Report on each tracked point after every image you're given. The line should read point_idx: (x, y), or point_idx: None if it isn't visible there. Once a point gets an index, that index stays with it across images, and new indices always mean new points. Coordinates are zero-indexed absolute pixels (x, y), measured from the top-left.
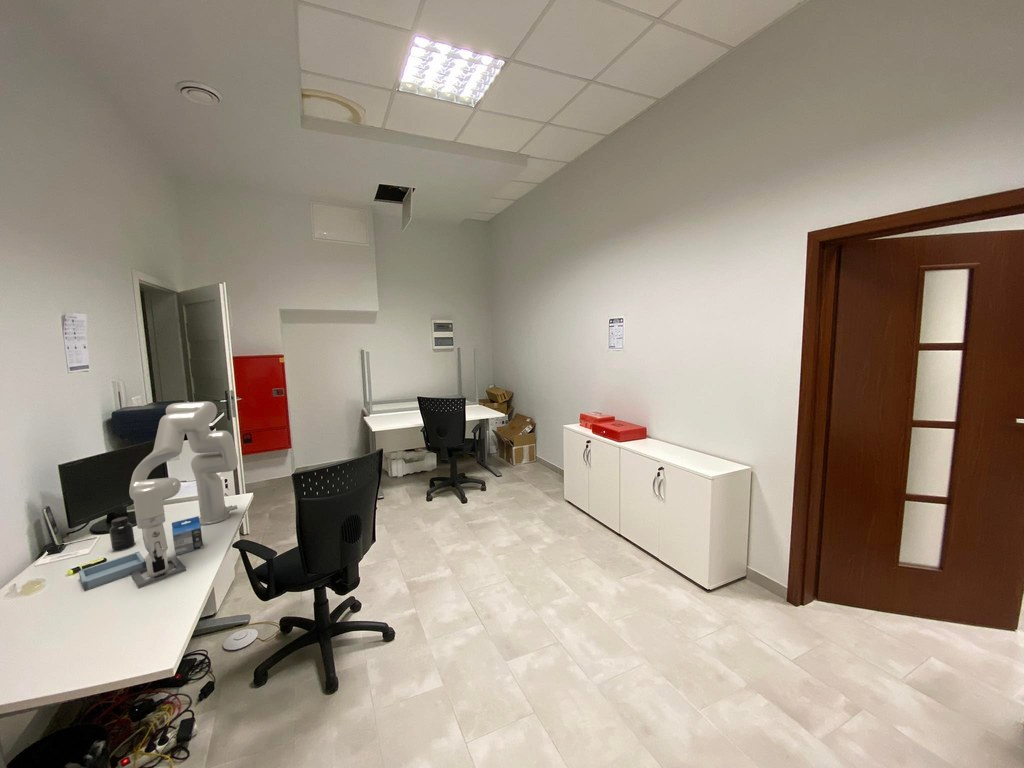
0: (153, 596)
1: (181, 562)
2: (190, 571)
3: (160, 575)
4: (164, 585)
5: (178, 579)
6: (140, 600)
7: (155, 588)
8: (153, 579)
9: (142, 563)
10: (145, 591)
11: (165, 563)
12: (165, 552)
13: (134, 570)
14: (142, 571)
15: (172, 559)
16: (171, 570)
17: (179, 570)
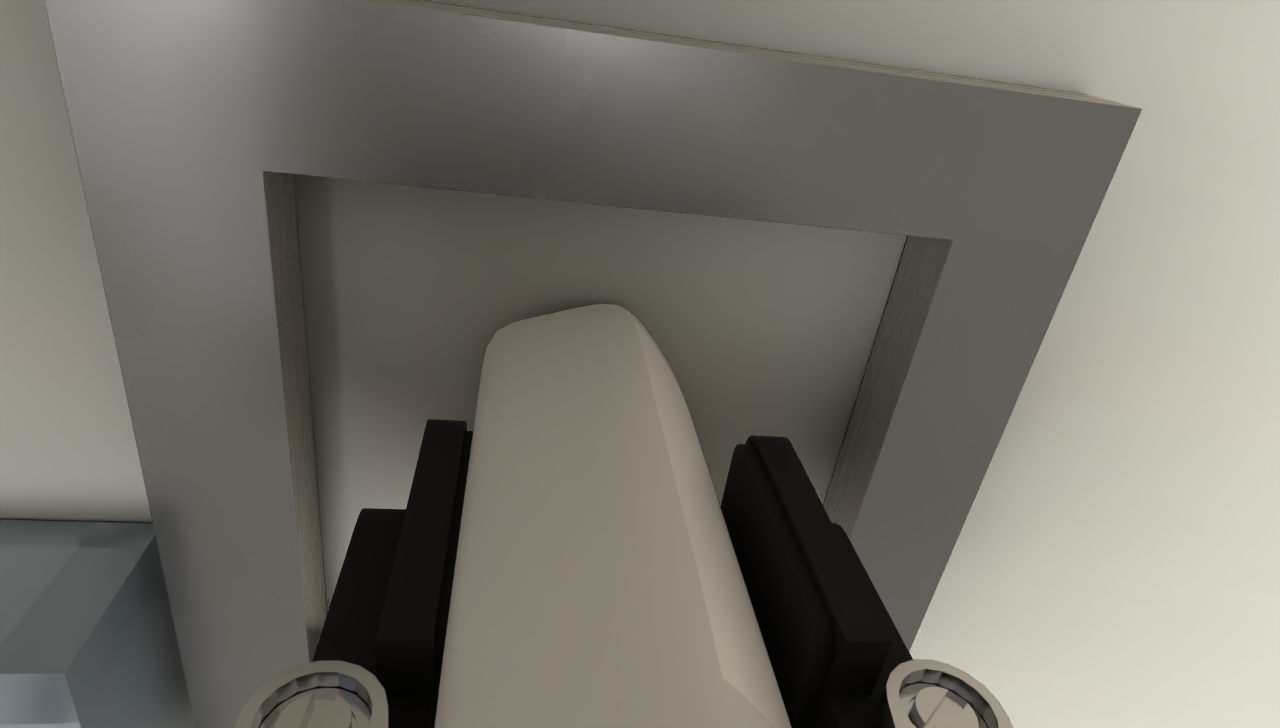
0: (1271, 631)
1: (734, 54)
2: (1228, 57)
3: (913, 519)
4: (1166, 497)
5: (1245, 321)
6: (1182, 717)
7: (1103, 582)
8: (925, 604)
9: (95, 699)
10: (1034, 661)
11: (691, 443)
12: (735, 671)
13: (165, 710)
14: (317, 626)
15: (249, 125)
16: (927, 350)
17: (1067, 235)
